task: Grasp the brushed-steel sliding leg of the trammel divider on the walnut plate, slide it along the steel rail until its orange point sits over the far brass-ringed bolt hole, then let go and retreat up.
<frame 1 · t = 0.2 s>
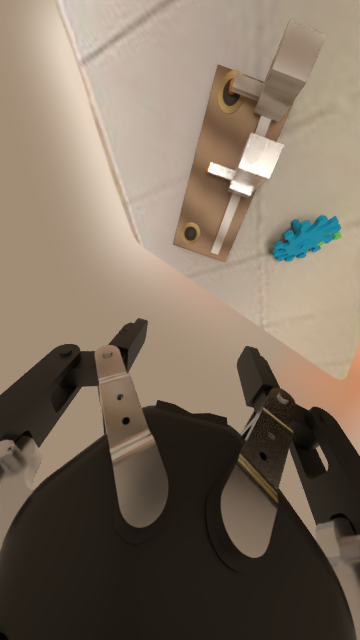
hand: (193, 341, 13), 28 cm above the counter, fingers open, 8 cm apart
sliding leg: (234, 166, 23), point 7 cm above the counter, slide at 0.0 cm
blue branching piece: (295, 240, 32), on the counter
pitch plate: (221, 186, 30), on the counter
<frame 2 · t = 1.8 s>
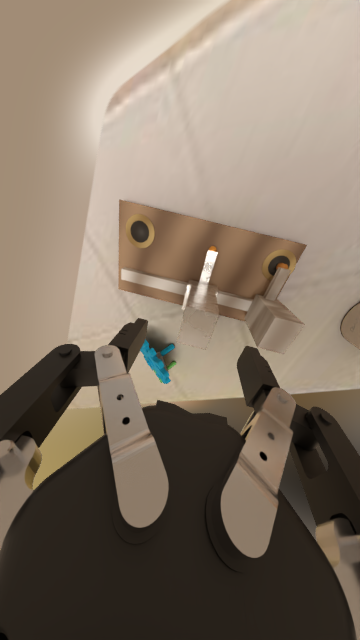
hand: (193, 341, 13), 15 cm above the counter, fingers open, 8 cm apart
sliding leg: (203, 289, 18), point 7 cm above the counter, slide at 0.0 cm
blue branching piece: (159, 348, 33), on the counter
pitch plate: (199, 268, 24), on the counter
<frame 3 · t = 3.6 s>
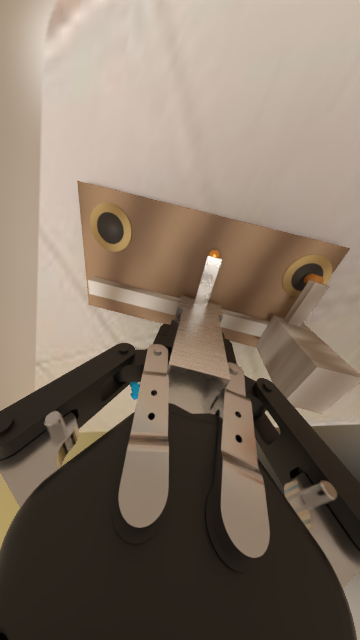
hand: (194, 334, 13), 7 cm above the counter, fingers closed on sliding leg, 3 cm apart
sliding leg: (201, 316, 12), point 7 cm above the counter, slide at 0.0 cm, touching gripper
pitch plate: (195, 278, 18), on the counter
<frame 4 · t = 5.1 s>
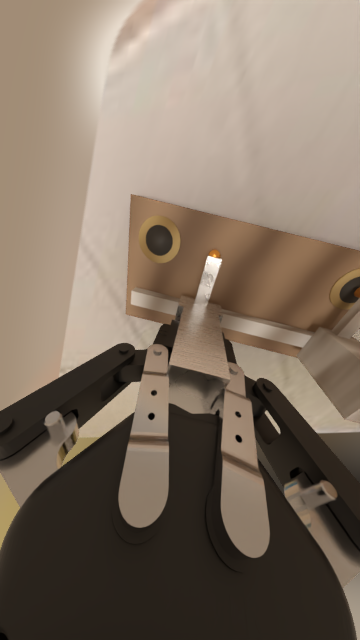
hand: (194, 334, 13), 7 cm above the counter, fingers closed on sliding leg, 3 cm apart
sliding leg: (201, 316, 12), point 7 cm above the counter, slide at 4.8 cm, touching gripper
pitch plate: (236, 288, 18), on the counter
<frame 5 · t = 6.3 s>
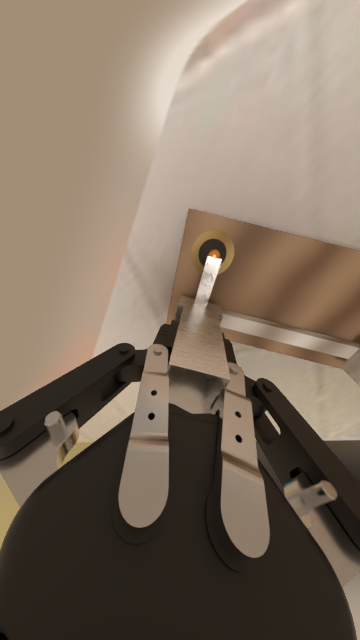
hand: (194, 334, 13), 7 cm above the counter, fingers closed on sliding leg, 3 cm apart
sliding leg: (201, 316, 12), point 7 cm above the counter, slide at 9.9 cm, touching gripper
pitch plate: (280, 299, 18), on the counter
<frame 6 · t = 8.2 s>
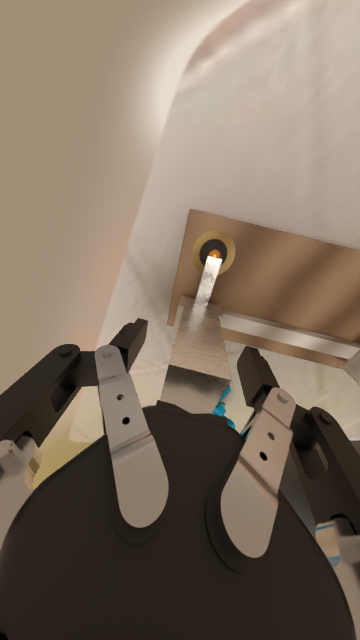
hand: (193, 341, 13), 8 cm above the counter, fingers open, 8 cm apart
sliding leg: (202, 316, 12), point 7 cm above the counter, slide at 9.9 cm
blue branching piece: (206, 388, 27), on the counter
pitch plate: (281, 299, 18), on the counter
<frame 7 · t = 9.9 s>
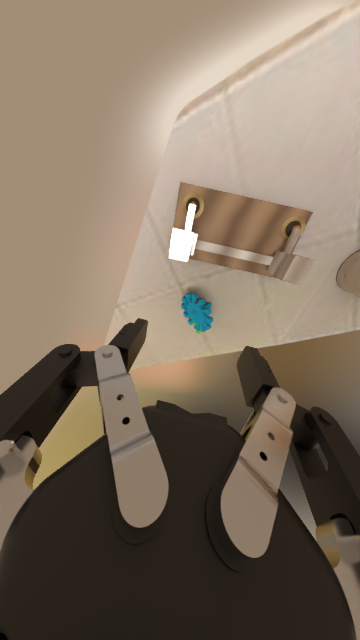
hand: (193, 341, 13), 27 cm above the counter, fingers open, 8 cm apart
sliding leg: (186, 228, 26), point 7 cm above the counter, slide at 9.9 cm
blue branching piece: (196, 307, 41), on the counter
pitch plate: (232, 234, 32), on the counter
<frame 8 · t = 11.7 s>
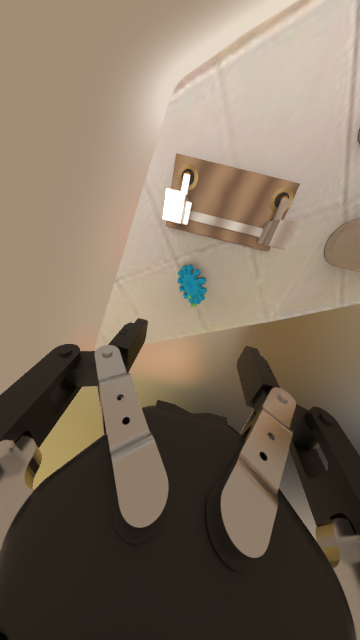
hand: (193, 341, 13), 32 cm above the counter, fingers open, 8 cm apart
sliding leg: (180, 195, 28), point 7 cm above the counter, slide at 9.9 cm
blue branching piece: (192, 282, 43), on the counter
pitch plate: (225, 207, 34), on the counter
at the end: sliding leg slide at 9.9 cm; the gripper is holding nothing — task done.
